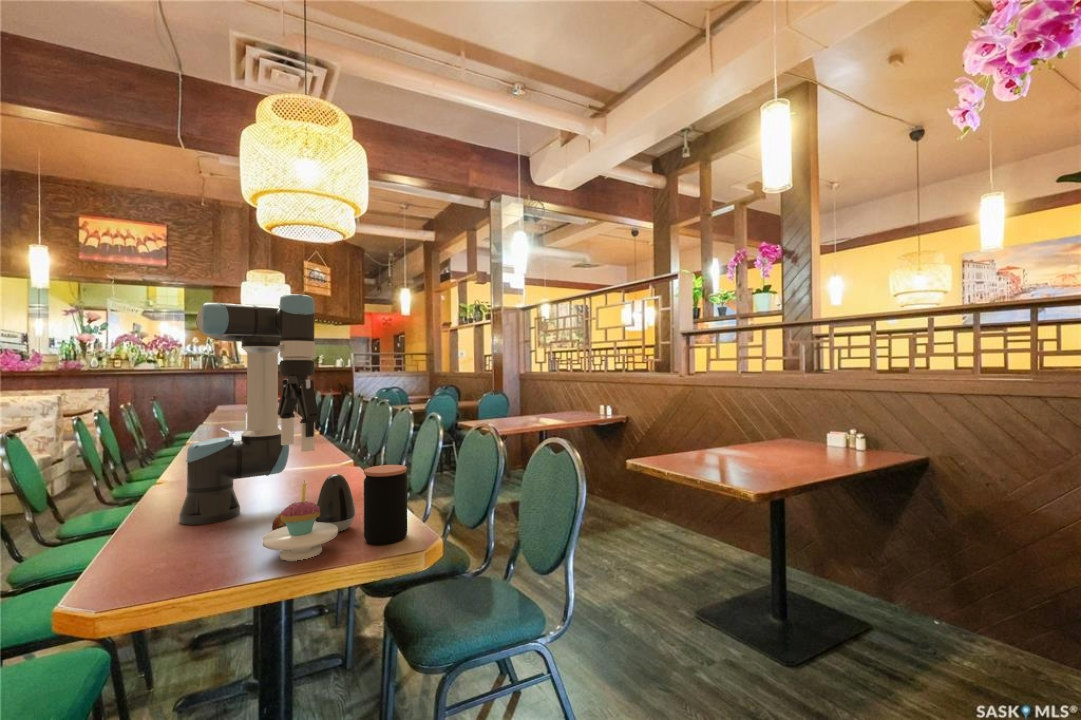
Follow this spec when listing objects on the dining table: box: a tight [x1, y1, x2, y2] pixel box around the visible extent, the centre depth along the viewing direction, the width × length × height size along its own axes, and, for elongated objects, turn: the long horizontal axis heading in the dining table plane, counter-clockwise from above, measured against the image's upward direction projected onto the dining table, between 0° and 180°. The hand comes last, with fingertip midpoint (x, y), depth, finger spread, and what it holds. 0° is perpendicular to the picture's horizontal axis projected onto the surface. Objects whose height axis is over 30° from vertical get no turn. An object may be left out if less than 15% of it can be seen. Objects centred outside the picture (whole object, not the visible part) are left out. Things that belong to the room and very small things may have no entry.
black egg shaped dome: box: [315, 473, 356, 533], centre depth 134 cm, size 10×10×15 cm
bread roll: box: [271, 510, 286, 531], centre depth 134 cm, size 10×10×8 cm
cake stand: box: [262, 521, 339, 562], centre depth 116 cm, size 16×16×5 cm
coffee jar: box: [363, 464, 408, 546], centre depth 126 cm, size 11×11×18 cm
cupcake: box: [280, 479, 320, 536], centre depth 116 cm, size 9×8×12 cm
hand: (297, 447), depth 118 cm, fingers open, 13 cm apart
